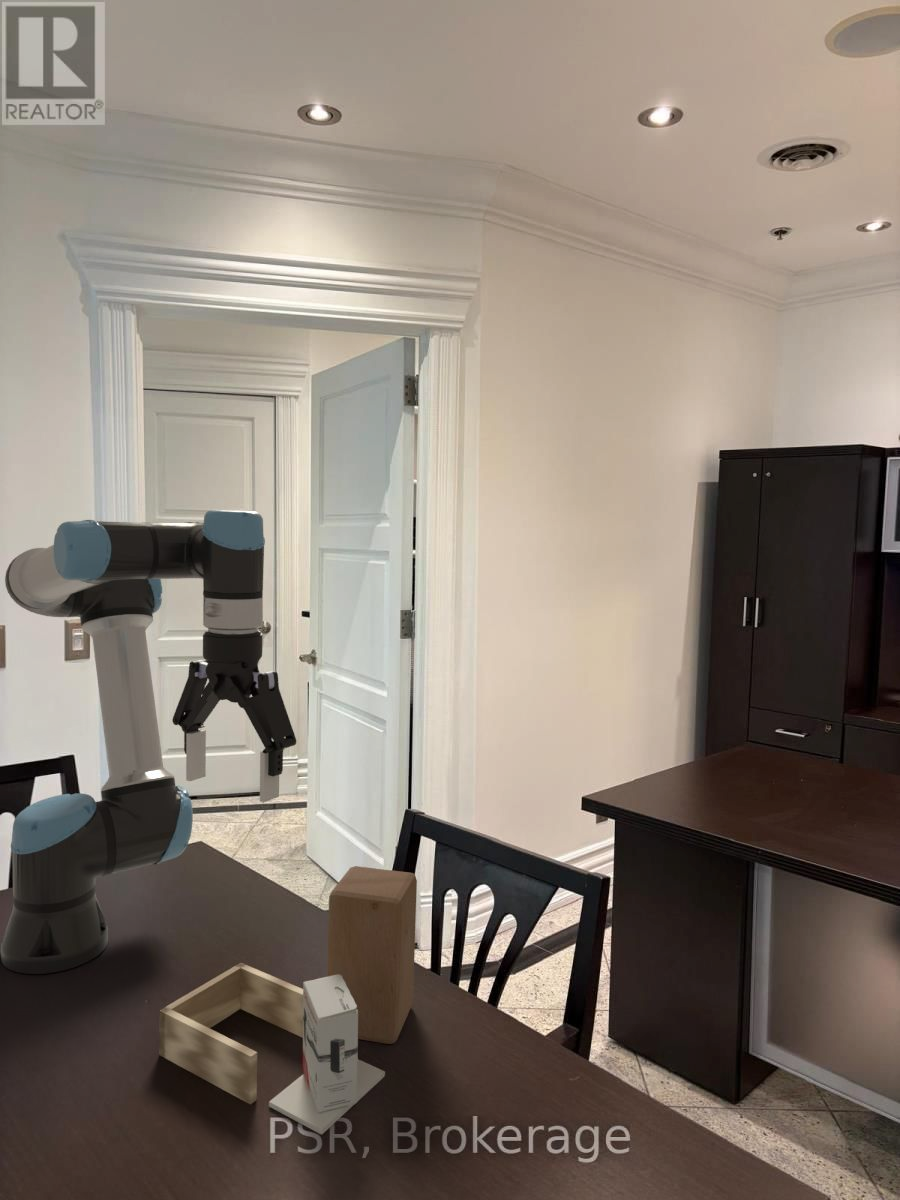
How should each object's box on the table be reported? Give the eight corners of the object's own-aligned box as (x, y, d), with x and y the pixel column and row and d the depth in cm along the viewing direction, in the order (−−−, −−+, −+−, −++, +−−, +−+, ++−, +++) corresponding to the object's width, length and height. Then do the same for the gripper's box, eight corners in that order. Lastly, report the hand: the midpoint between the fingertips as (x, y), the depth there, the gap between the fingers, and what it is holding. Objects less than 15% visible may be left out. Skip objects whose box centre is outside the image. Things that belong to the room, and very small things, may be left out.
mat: (269, 1106, 98) (269, 1101, 98) (334, 1052, 108) (334, 1048, 108) (321, 1134, 94) (321, 1129, 94) (384, 1076, 104) (384, 1071, 104)
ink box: (300, 1068, 104) (302, 978, 103) (339, 1060, 106) (341, 971, 105) (316, 1114, 96) (318, 1017, 95) (358, 1104, 98) (360, 1009, 97)
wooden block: (395, 1048, 110) (400, 902, 108) (323, 1036, 112) (326, 892, 110) (414, 1005, 120) (418, 870, 118) (347, 995, 122) (350, 862, 120)
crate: (159, 1055, 107) (159, 1010, 106) (240, 1002, 119) (240, 962, 118) (250, 1104, 98) (251, 1056, 98) (327, 1043, 110) (328, 1000, 110)
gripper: (145, 622, 112) (145, 777, 114) (284, 643, 99) (282, 816, 101) (189, 618, 119) (189, 764, 121) (326, 636, 106) (322, 800, 108)
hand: (231, 788), depth 111 cm, fingers open, 13 cm apart
